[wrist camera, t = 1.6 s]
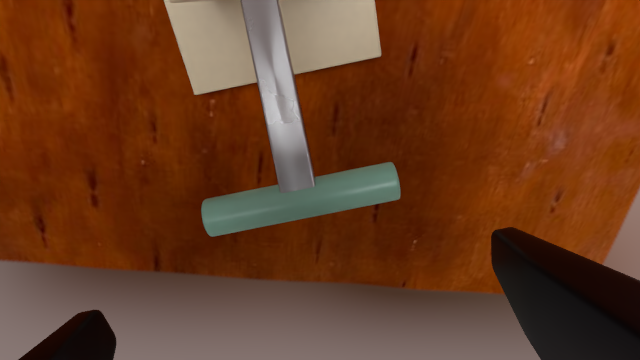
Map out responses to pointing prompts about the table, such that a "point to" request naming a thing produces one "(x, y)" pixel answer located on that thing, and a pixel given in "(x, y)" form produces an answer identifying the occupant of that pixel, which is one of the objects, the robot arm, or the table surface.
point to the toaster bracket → (301, 30)
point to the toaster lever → (290, 147)
